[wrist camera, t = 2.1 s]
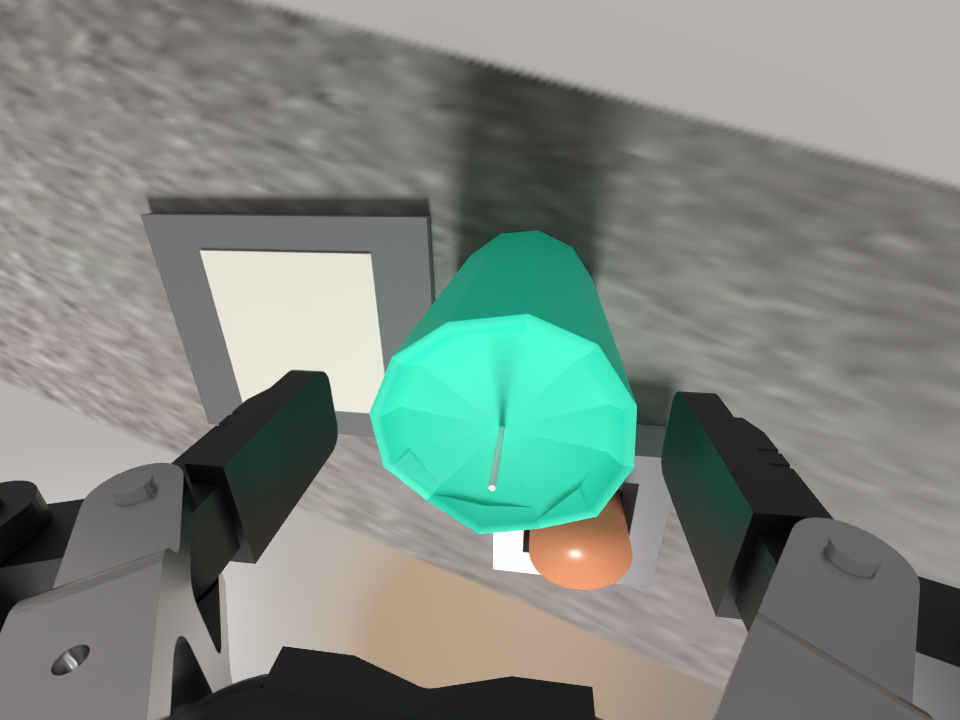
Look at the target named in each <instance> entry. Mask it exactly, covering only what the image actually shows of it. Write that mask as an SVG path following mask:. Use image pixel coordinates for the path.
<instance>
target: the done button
mask: <svg viewBox="0 0 960 720" xmlns="http://www.w3.org/2000/svg"><path fill="white" fill-rule="evenodd" d="M529 556H530V560H531V562H532V564H533V566H534V568H535V569H536V570H537V571H538V572H539V573H540V574H541V575H542V576H543V577H545V578H546V579H547V580H549V581H551V582H553V583H555V584H557V585H560V586H563V587H566V588H571V589H579V590H590V589H597V588H602V587H605V586H608V585H610V584H613V583H614V582H616V581H618V580H619V579H620V578H622V577H623V576H624V575H625V574H626V572H627V571H628V570H629V568H630V566H631V563H632V558H633V553H632V547H631V543H630V538H629V533H628V528H627V524H626V519H625V514H624V510H623V505H622V500H621V497H620V494H619V492H618V490H617V491H616V492H615V494H614V495H613V496H612V498H611V499H610V500H609V502H608V503H607V504H606V506H605V507H604V508H603V509H602V511H601V512H600V513H599V515H598V516H597V517H592V518H588V519H583V520H578V521H574V522H569V523H564V524H560V525H555V526H550V527H546V528H541V529H530V538H529Z"/></svg>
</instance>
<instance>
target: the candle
mask: <svg viewBox="0 0 960 720" xmlns="http://www.w3.org/2000/svg"><path fill="white" fill-rule="evenodd" d="M369 415H370V418H371V422H372V426H373V429H374V433H375V437H376V440H377V444H378V448H379V451H380V455H381V459H382V462H383V466H384V467H385V468H386V469H387V470H389V471H390V472H391V473H393V474H394V475H395V476H396V477H398V478H399V479H400V480H401V481H403V482H404V483H405V484H407V485H408V486H409V487H410V488H412V489H413V490H414V491H416V492H417V493H418V494H419V495H421V496H422V497H423V498H424V499H426V500H427V501H429V502H430V503H432V504H433V505H435V506H436V507H438V508H439V509H441V510H442V511H444V512H446V513H447V514H449V515H450V516H452V517H453V518H455V519H456V520H458V521H459V522H461V523H462V524H464V525H465V526H467V527H469V528H470V529H472V530H473V531H475V532H476V533H478V534H488V533H498V532H509V531H520V530H530V529H541V528H546V527H550V526H555V525H560V524H564V523H569V522H574V521H578V520H583V519H588V518H592V517H597V516H598V515H599V513H600V512H601V511H602V509H603V508H604V507H605V506H606V504H607V503H608V502H609V500H610V499H611V498H612V496H613V495H614V494H615V492H616V491H617V490H618V488H619V487H620V486H621V484H622V483H623V482H624V480H625V479H626V478H627V476H628V475H629V474H630V472H631V471H632V470H633V468H634V457H635V438H636V420H637V404H636V401H635V398H634V396H633V393H632V390H631V387H630V384H629V382H628V379H627V376H626V373H625V370H624V367H623V365H622V362H621V359H620V356H619V353H618V351H617V348H616V345H615V342H614V339H613V336H612V334H611V331H610V328H609V325H608V322H607V320H606V317H605V314H604V311H603V308H602V306H601V303H600V300H599V297H598V294H597V291H596V289H595V286H594V283H593V280H592V278H591V276H590V275H589V273H588V271H587V270H586V268H585V266H584V265H583V263H582V262H581V260H580V258H579V257H578V255H577V254H576V252H575V250H574V249H573V247H571V246H569V245H567V244H565V243H563V242H561V241H559V240H557V239H555V238H553V237H551V236H549V235H547V234H545V233H543V232H541V231H539V230H537V231H525V232H513V233H501V234H499V235H498V236H497V237H495V238H494V239H492V240H491V241H490V242H488V243H487V244H485V245H484V246H483V247H481V248H480V249H478V250H477V251H476V252H474V253H473V254H471V255H470V257H469V258H468V259H467V261H466V262H465V263H464V264H463V266H462V267H461V268H460V270H459V271H458V272H457V273H456V275H455V276H454V277H453V279H452V280H451V281H450V283H449V284H448V285H447V286H446V288H445V289H444V290H443V292H442V293H441V294H440V295H439V297H438V298H437V299H436V301H435V302H434V303H433V304H432V306H431V307H430V308H429V310H428V311H427V312H426V313H425V315H424V316H423V317H422V319H421V320H420V321H419V323H418V324H417V325H416V326H415V328H414V329H413V330H412V332H411V333H410V334H409V335H408V337H407V338H406V339H405V341H404V342H403V343H402V344H401V346H400V347H399V348H398V350H397V351H396V352H395V354H394V355H393V356H392V358H391V360H390V363H389V365H388V368H387V370H386V373H385V375H384V378H383V380H382V383H381V385H380V388H379V390H378V393H377V395H376V398H375V400H374V403H373V405H372V408H371V410H370V413H369Z"/></svg>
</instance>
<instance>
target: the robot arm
mask: <svg viewBox="0 0 960 720" xmlns="http://www.w3.org/2000/svg"><path fill="white" fill-rule="evenodd" d="M337 435H338V426H337V420H336V415H335V409H334V403H333V398H332V392H331V386H330V381H329V378H328V376H327V374H326V373H325V372H323V371H309V370H290V371H289V372H288V373H286V374H285V375H284V376H283V377H282V378H281V379H280V380H278V381H277V382H276V383H275V384H274V385H273V386H272V387H270V388H269V389H267V390H265V391H262V392H260V393H258V394H256V395H254V396H252V397H250V398H248V399H247V400H246V401H244V402H243V403H242V404H241V405H240V406H239V407H237V408H236V409H235V410H234V411H233V412H232V415H228V416H227V417H226V418H224V419H223V420H222V421H221V422H220V423H219V426H215V427H214V428H213V429H211V430H210V431H209V432H208V433H207V434H205V435H204V436H203V437H202V438H201V439H200V440H198V441H197V442H196V443H195V444H194V445H192V446H191V447H190V448H189V449H188V450H187V451H185V452H184V453H183V454H182V455H181V456H179V457H178V458H177V459H176V460H175V461H174V462H172V463H171V464H170V463H155V464H148V465H144V466H139V467H136V468H132V469H130V470H127V471H125V472H122V473H120V474H118V475H115V476H114V477H112V478H110V479H108V480H107V481H105V482H103V483H102V484H100V485H99V486H97V488H95V489H94V490H93V491H92V492H90V493H89V494H88V496H87V497H86V498H85V499H81V500H74V501H67V502H60V503H53V504H46V502H45V500H44V499H43V497H42V495H41V494H40V492H39V490H38V488H37V486H36V485H35V484H33V483H31V482H29V481H10V482H3V483H0V720H602V719H600V718H598V717H596V716H595V710H594V700H593V690H592V687H588V686H581V685H573V684H565V683H558V682H550V681H543V680H535V679H527V678H520V677H513V676H511V677H504V678H498V679H491V680H485V681H478V682H472V683H466V684H459V685H453V686H446V687H440V688H431V689H429V688H423V687H419V686H417V685H415V684H413V683H411V682H409V681H407V680H405V679H402V678H400V677H398V676H396V675H394V674H392V673H390V672H388V671H386V670H383V669H381V668H379V667H377V666H375V665H373V664H370V663H369V662H366V661H364V660H362V659H360V658H358V657H356V656H353V655H345V654H338V653H330V652H323V651H315V650H307V649H300V648H292V647H285V646H283V647H282V649H281V651H280V653H279V655H278V657H277V659H276V661H275V663H274V664H273V666H272V668H271V670H270V672H269V674H264V675H259V676H256V677H253V678H249V679H246V680H242V681H240V682H237V683H234V684H233V683H232V678H231V672H230V662H229V645H228V626H227V609H226V590H225V580H224V578H223V575H222V571H223V569H224V568H225V567H226V565H227V564H228V563H229V561H235V562H244V563H254V564H255V563H256V562H257V561H258V559H259V557H260V556H261V555H262V553H263V552H264V550H265V549H266V547H267V546H268V545H269V543H270V542H271V540H272V539H273V537H274V536H275V534H276V533H277V532H278V530H279V529H280V527H281V526H282V524H283V523H284V521H285V520H286V519H287V517H288V516H289V514H290V513H291V511H292V510H293V508H294V507H295V506H296V504H297V503H298V501H299V500H300V498H301V497H302V495H303V494H304V492H305V491H306V490H307V488H308V487H309V485H310V484H311V482H312V481H313V479H314V478H315V477H316V475H317V474H318V472H319V471H320V469H321V468H322V466H323V465H324V464H325V462H326V461H327V459H328V458H329V456H330V455H331V453H332V452H333V450H334V448H335V445H336V441H337ZM661 467H662V474H663V478H664V481H665V483H666V486H667V489H668V491H669V494H670V496H671V499H672V502H673V504H674V507H675V510H676V512H677V515H678V517H679V520H680V523H681V525H682V528H683V531H684V533H685V536H686V539H687V541H688V544H689V546H690V549H691V552H692V554H693V557H694V560H695V562H696V565H697V567H698V570H699V573H700V575H701V578H702V581H703V583H704V586H705V588H706V591H707V594H708V596H709V599H710V602H711V604H712V607H713V610H714V612H715V615H716V616H717V617H726V618H735V619H742V620H743V622H744V624H745V626H746V629H747V631H748V635H747V638H746V640H745V642H744V645H743V647H742V650H741V652H740V654H739V657H738V659H737V662H736V664H735V666H734V669H733V671H732V674H731V676H730V678H729V681H728V683H727V686H726V688H725V690H724V693H723V695H722V698H721V700H720V703H719V705H718V707H717V710H716V712H715V714H714V717H713V719H712V720H960V589H958V588H955V587H951V586H948V585H945V584H942V583H938V582H935V581H932V580H928V579H925V578H922V577H919V576H917V574H916V573H915V571H914V569H913V568H912V566H911V565H910V564H909V563H908V562H907V560H906V559H905V558H904V557H903V556H902V555H901V554H899V553H898V552H897V551H896V550H895V549H893V548H892V547H891V546H890V545H888V544H887V543H885V542H884V541H882V540H881V539H879V538H878V537H876V536H874V535H872V534H871V533H869V532H867V531H865V530H862V529H860V528H858V527H856V526H853V525H850V524H848V523H844V522H841V521H838V520H834V519H833V518H832V517H831V515H830V514H829V513H828V512H827V510H826V509H825V508H824V507H823V505H822V504H821V503H820V502H819V500H818V499H817V498H816V497H815V495H814V494H813V493H812V492H811V490H810V489H809V488H808V487H807V485H806V484H805V483H804V482H803V480H802V479H801V478H800V477H799V475H798V474H797V473H796V472H795V470H794V469H791V468H790V464H789V463H788V462H787V460H786V459H785V458H784V457H783V455H782V454H779V453H778V449H777V448H776V447H775V445H774V444H773V443H772V442H771V440H770V439H769V438H768V437H767V436H766V434H765V433H764V432H762V431H761V430H759V429H758V428H756V427H755V426H754V425H752V424H751V423H749V422H748V421H746V420H745V419H743V418H736V417H733V415H732V414H731V412H730V411H729V410H728V408H727V407H726V406H725V404H724V403H723V402H722V400H721V399H720V397H719V396H718V395H717V394H714V393H697V392H677V393H676V394H675V396H674V399H673V402H672V406H671V411H670V415H669V420H668V425H667V429H666V434H665V438H664V443H663V447H662V454H661Z"/></svg>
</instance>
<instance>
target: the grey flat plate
mask: <svg viewBox="0 0 960 720" xmlns="http://www.w3.org/2000/svg"><path fill="white" fill-rule="evenodd" d="M141 217H142V221H143V224H144V227H145V230H146V233H147V236H148V239H149V242H150V245H151V248H152V251H153V254H154V257H155V260H156V263H157V266H158V269H159V272H160V275H161V278H162V282H163V285H164V288H165V291H166V294H167V297H168V300H169V303H170V306H171V309H172V312H173V315H174V318H175V321H176V324H177V327H178V330H179V333H180V336H181V340H182V343H183V346H184V349H185V352H186V355H187V358H188V361H189V364H190V367H191V370H192V373H193V376H194V379H195V382H196V385H197V388H198V391H199V394H200V397H201V401H202V404H203V407H204V410H205V413H206V416H207V419H208V422H209V424H218V425H219V423H220V422H221V421H222V420H223V419H224V418H226V417H227V416H228V415H232V412H233V411H234V410H235V409H236V408H237V407H239V406H240V405H241V404H242V403H243V402H244V401H246V400H247V399H248V398H250V397H252V396H254V395H256V394H258V393H260V392H262V391H265V390H267V389H269V388H270V387H272V386H273V385H274V384H275V383H276V382H277V381H278V380H280V379H281V378H282V377H283V376H284V375H285V374H286V373H288V372H289V371H290V370H309V371H323V372H325V373H326V374H327V376H328V378H329V381H330V386H331V392H332V398H333V403H334V409H335V415H336V420H337V426H338V434H345V435H358V436H370V437H375V433H374V429H373V426H372V422H371V418H370V415H369V413H370V410H371V408H372V405H373V403H374V400H375V398H376V395H377V393H378V390H379V388H380V385H381V383H382V380H383V378H384V375H385V373H386V370H387V368H388V365H389V363H390V360H391V358H392V356H393V355H394V354H395V352H396V351H397V350H398V348H399V347H400V346H401V344H402V343H403V342H404V341H405V339H406V338H407V337H408V335H409V334H410V333H411V332H412V330H413V329H414V328H415V326H416V325H417V324H418V323H419V321H420V320H421V319H422V317H423V316H424V315H425V313H426V312H427V311H428V310H429V308H430V307H431V306H432V304H433V303H434V302H435V295H434V277H433V259H432V241H431V222H430V216H420V215H307V214H194V213H149V214H142V215H141Z"/></svg>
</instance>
